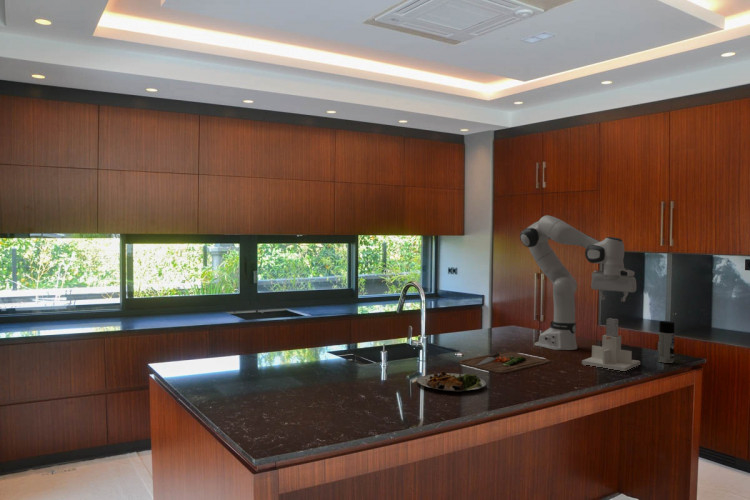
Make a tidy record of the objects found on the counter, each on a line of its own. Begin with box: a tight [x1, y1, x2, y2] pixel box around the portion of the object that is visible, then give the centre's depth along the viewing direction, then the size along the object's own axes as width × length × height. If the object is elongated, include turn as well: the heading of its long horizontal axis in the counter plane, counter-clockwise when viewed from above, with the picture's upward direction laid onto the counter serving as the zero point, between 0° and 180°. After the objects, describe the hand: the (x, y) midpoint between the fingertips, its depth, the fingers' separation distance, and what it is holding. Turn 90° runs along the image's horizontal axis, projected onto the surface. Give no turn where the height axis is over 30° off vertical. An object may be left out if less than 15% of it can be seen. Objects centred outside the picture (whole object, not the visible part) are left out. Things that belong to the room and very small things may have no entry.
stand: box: [581, 334, 641, 372], centre depth 273 cm, size 20×20×14 cm
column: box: [605, 317, 619, 337], centre depth 273 cm, size 4×4×18 cm
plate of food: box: [416, 370, 487, 393], centre depth 233 cm, size 28×28×6 cm
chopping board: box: [458, 351, 551, 375], centre depth 275 cm, size 45×27×3 cm, turn 130°
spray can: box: [658, 320, 675, 364], centre depth 280 cm, size 7×7×20 cm
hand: (613, 300), depth 273 cm, fingers open, 8 cm apart
